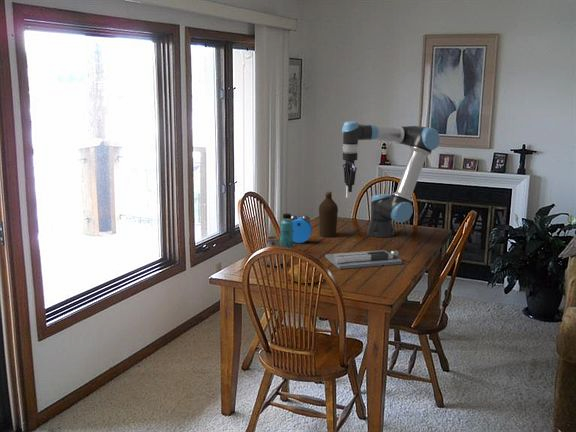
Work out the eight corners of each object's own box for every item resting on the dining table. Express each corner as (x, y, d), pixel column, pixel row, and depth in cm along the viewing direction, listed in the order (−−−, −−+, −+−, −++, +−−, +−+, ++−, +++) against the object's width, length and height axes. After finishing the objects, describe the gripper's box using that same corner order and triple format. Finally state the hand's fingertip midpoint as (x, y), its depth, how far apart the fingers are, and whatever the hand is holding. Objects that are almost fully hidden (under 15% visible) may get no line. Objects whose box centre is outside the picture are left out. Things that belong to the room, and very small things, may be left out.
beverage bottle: (279, 250, 315) (279, 212, 311) (292, 250, 315) (292, 212, 311) (280, 253, 309) (280, 215, 304) (293, 253, 309) (293, 215, 305)
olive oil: (328, 238, 339) (329, 194, 333) (314, 235, 346) (315, 191, 341) (341, 235, 346) (342, 192, 340) (327, 232, 353) (328, 189, 348)
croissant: (284, 281, 274) (282, 264, 272) (316, 272, 279) (314, 256, 277) (296, 290, 261) (293, 272, 259) (329, 281, 266) (327, 264, 264)
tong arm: (385, 255, 301) (385, 250, 300) (387, 257, 298) (387, 252, 297) (333, 259, 294) (334, 254, 293) (335, 260, 291) (336, 255, 291)
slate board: (384, 252, 312) (384, 249, 311) (402, 263, 293) (402, 260, 293) (325, 257, 303) (325, 254, 303) (339, 269, 284) (339, 266, 284)
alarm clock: (311, 241, 333) (312, 214, 330) (310, 244, 327) (311, 216, 324) (288, 240, 335) (288, 213, 332) (286, 243, 329) (286, 215, 326)
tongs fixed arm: (396, 255, 301) (396, 250, 300) (400, 258, 296) (401, 252, 295) (333, 260, 292) (333, 254, 291) (337, 263, 287) (337, 257, 286)
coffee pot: (261, 260, 297) (261, 230, 294) (285, 260, 297) (285, 230, 294) (259, 274, 277) (259, 241, 273) (285, 274, 276) (285, 242, 273)
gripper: (338, 151, 317) (337, 195, 322) (348, 154, 305) (346, 200, 310) (352, 150, 319) (351, 195, 324) (362, 153, 307) (360, 199, 312)
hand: (349, 197), depth 317 cm, fingers closed
